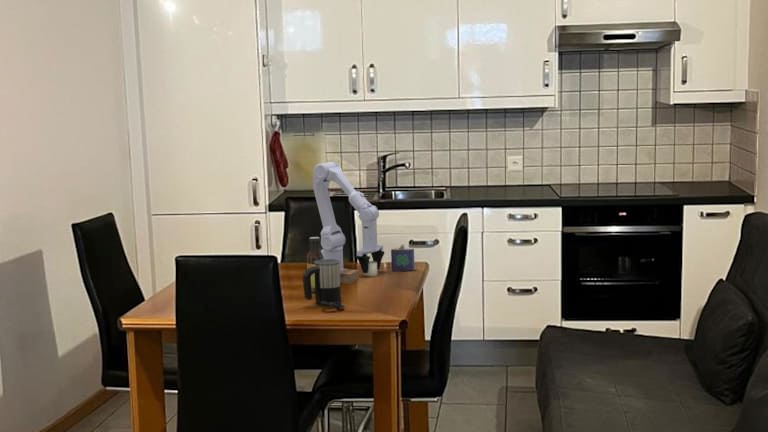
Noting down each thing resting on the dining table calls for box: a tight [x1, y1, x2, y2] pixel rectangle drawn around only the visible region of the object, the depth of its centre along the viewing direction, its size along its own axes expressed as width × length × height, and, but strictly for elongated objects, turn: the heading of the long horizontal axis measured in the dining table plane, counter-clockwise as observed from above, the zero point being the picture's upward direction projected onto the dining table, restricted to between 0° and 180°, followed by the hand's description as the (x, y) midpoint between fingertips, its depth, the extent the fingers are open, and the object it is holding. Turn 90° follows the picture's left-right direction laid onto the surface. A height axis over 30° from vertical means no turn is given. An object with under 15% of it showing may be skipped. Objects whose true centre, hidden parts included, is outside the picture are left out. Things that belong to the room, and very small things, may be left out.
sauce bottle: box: [306, 236, 324, 293], centre depth 334 cm, size 6×6×20 cm
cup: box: [364, 260, 378, 277], centre depth 360 cm, size 5×5×5 cm
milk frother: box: [302, 259, 345, 311], centre depth 311 cm, size 14×16×15 cm
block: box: [340, 268, 360, 285], centre depth 350 cm, size 8×8×4 cm
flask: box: [390, 244, 416, 273], centre depth 365 cm, size 9×3×11 cm, turn 87°
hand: (371, 271), depth 360 cm, fingers open, 7 cm apart
